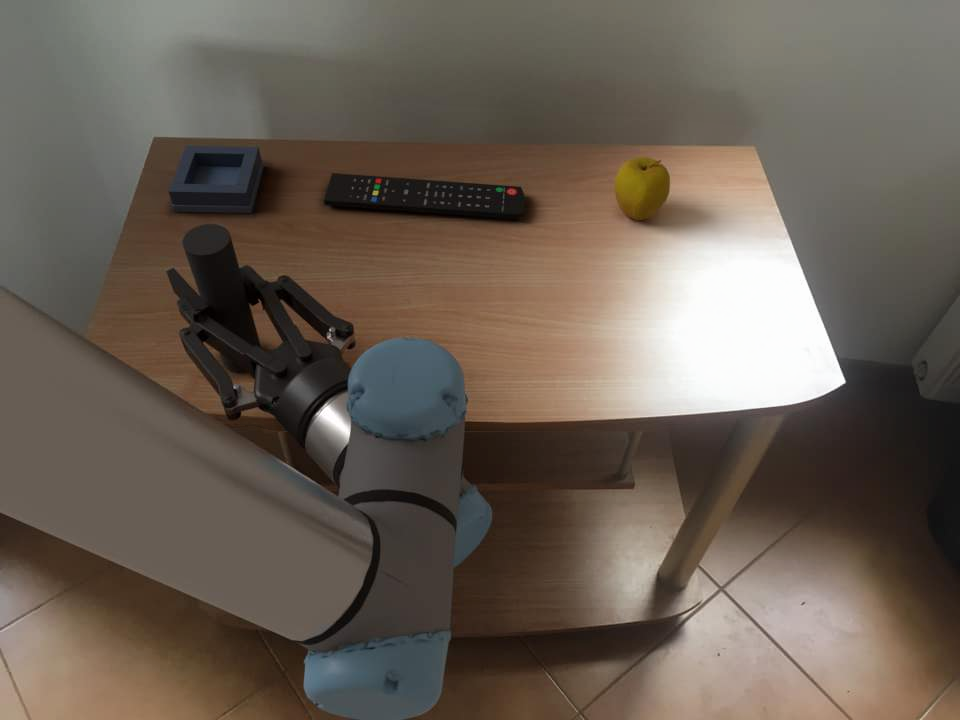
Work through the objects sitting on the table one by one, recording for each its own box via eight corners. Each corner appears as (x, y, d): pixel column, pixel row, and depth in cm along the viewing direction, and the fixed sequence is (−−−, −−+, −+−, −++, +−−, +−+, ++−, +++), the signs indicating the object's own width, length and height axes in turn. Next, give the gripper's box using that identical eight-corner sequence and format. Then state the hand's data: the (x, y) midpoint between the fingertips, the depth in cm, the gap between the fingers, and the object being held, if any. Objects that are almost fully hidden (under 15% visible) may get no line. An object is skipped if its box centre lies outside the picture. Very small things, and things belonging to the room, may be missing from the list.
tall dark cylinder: (218, 372, 78) (176, 253, 66) (228, 342, 81) (189, 222, 69) (258, 374, 78) (224, 256, 66) (266, 343, 81) (235, 224, 69)
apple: (672, 218, 96) (688, 164, 90) (633, 236, 94) (646, 182, 87) (638, 190, 99) (651, 136, 93) (599, 207, 97) (609, 152, 91)
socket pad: (173, 212, 93) (166, 191, 91) (190, 164, 99) (184, 144, 97) (251, 213, 94) (246, 193, 91) (264, 166, 100) (259, 146, 97)
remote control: (333, 181, 98) (332, 173, 97) (524, 195, 98) (525, 187, 97) (325, 209, 95) (323, 200, 94) (523, 223, 94) (524, 214, 93)
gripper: (258, 501, 64) (124, 337, 75) (419, 393, 72) (277, 258, 82) (240, 451, 58) (97, 281, 69) (417, 339, 66) (264, 201, 76)
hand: (195, 269), depth 75 cm, fingers closed on tall dark cylinder, 4 cm apart
